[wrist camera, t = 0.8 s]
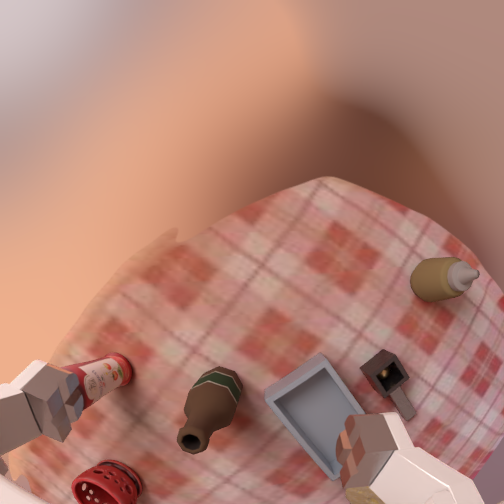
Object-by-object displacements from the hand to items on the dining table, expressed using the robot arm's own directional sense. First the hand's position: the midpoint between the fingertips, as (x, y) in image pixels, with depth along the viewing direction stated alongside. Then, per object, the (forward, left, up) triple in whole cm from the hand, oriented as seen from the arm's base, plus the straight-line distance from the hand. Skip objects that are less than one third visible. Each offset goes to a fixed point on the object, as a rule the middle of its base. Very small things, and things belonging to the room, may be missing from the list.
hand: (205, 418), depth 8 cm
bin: (-23, +1, -46) cm, 52 cm away
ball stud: (-22, -12, -46) cm, 53 cm away
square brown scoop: (-27, -12, -46) cm, 55 cm away
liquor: (+6, +29, -46) cm, 55 cm away
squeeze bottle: (-14, -29, -46) cm, 57 cm away
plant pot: (-15, +48, -46) cm, 68 cm away
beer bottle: (-7, +13, -46) cm, 49 cm away
